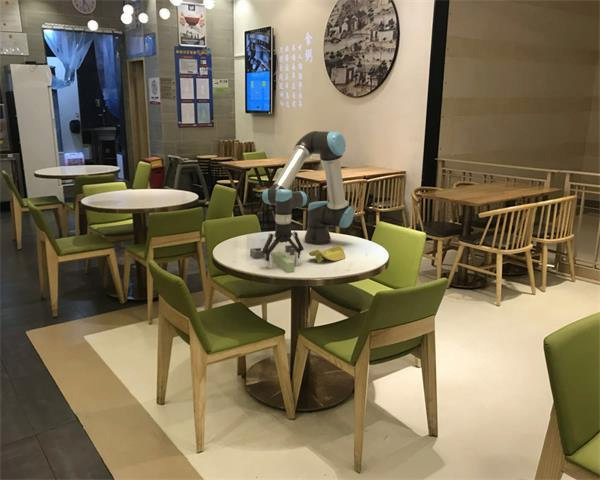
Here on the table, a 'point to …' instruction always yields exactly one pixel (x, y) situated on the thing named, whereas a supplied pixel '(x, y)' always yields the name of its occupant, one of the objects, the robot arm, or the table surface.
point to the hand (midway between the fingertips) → (282, 266)
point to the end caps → (257, 254)
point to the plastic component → (329, 254)
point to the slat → (283, 262)
